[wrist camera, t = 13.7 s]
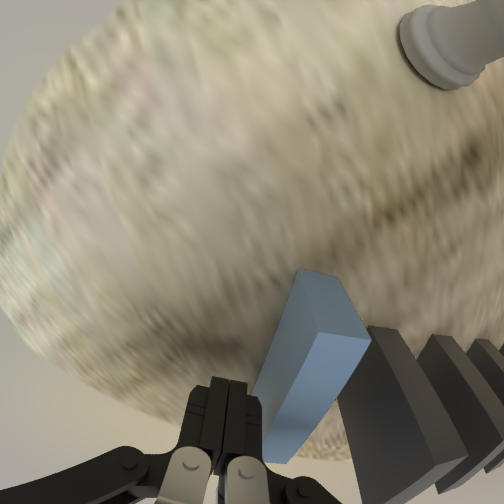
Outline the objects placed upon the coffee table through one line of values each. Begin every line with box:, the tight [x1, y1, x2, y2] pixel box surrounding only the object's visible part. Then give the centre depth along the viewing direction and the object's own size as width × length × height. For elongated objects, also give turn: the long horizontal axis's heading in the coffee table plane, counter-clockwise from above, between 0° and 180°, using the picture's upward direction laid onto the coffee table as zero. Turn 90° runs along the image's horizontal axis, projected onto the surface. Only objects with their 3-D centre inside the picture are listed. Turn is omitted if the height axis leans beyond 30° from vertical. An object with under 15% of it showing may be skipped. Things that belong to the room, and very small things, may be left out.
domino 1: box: [337, 326, 469, 504], centre depth 11 cm, size 2×5×9 cm, turn 167°
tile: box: [251, 268, 372, 464], centre depth 12 cm, size 2×5×9 cm
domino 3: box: [466, 339, 504, 474], centre depth 12 cm, size 2×5×9 cm, turn 166°
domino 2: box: [417, 334, 504, 494], centre depth 11 cm, size 2×5×9 cm, turn 167°
